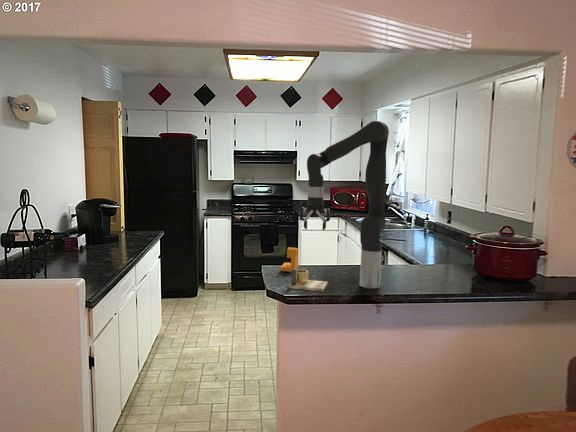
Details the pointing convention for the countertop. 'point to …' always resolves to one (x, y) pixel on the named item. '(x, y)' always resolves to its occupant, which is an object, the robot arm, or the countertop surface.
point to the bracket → (293, 255)
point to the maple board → (309, 285)
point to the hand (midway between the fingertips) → (314, 229)
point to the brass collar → (301, 276)
